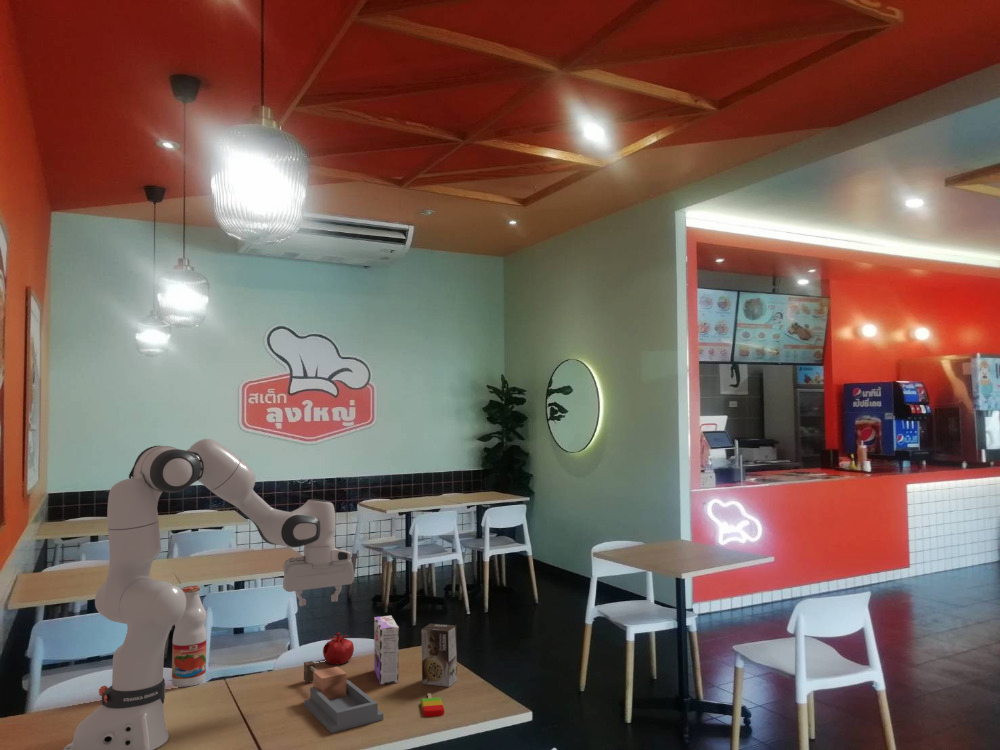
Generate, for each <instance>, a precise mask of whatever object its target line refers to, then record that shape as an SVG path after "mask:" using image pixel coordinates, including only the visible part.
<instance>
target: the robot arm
mask: <svg viewBox="0 0 1000 750" xmlns="http://www.w3.org/2000/svg"><path fill="white" fill-rule="evenodd" d="M196 482H199V483H201V484H202V485H203V486H204V487H206V488H207V489H208V490H209V491H210V492H212V493H213V494H214V495H215V496H217V497H218V498H220V499H222V500H224V501H225V502H227V503H228V504H231V505H233V506H234V507H235V508H236V509H238V510H239V511H240V512H241V513H242V514H243V515H245V517H246V518H247V519H249V520H250V521H251V523H253V524H254V526H255V527H256V529H257V531H258V534H259V536H260V537H261V539H262V540H263V541H264V542H265V543H267V544H269V545H273V546H274V545H276V546H283V547H287V548H299V547H302V546H303V556H297V557H289V558H288V559H286V560H285V561H284V563H283V565H282V566H283V567H282V568H283V569H282V571H283V574H284V575H283V581H282V588H283V589H284V591H286V592H288V593H290V592H291V593H292V592H294V593H295V595H296V597H297V599H298V600H299V601H298V606H299V607H306V606H307V599H305V598H303V597H302V595H303V591H308V590H315V589H316V590H317V589H322V588H323V589H324V588H331V587H334V589H335V591H334V593H333V594H331V595H330V598H331V599H330V600H331V602H332V603H334V602H338V601H339V595H340V594H341V592H342V589H343V586H345V585H346V586H347V585H352V583H354V581H355V573H354V572H355V571H354V564H353V562H352V560H351V559H352V553H351V552H350V551H347V550H344V549H341V548H339V547H336V541H335V532H336V511H335V510H336V509H335V505H334V503H332V502H331V501H330V500H325V499H317V498H310V499H308V500H307V501H306V502H305V503H304V504H303V505H301V506H300V507H298V508H296V509H294V510H291V511H287V510H283V509H280V508H279V509H278V508H274V507H272V506H271V505H269V504H268V503H267V502H266V501H265V500H264V499H263V498H262V497H261V496H259V495H258V493H256V491H255V490H254V487H255V485H256V474H255V472H254V471H253V470H252V468H251V467H250V466H249V464H247V463H246V462H245V461H244V460H243V459H242V458H241V457H239V456H238V455H237V454H236V453H234V451H232V450H230V449H229V448H227V447H226V446H225V445H222V444H221V443H219V442H218V441H216V440H213V439H211V438H204V439H201V440H198V441H196V442H194V443H193V444H192V445H191V446H190V447H189V448H188V449H186V450H184V449H179V448H176V447H174V446H168V445H153V446H150V447H147V448H146V449H144V450H142V451H141V453H139V455H138V456H137V457H136V459H135V462H134V464H133V466H132V468H131V470H130V472H129V474H128V478H126V479H122V480H120V481H118V482H117V483H115V484H114V485H113V486H111V488H110V490H109V492H108V497H107V498H108V499H107V508H106V509H107V510H106V511H107V512H106V513H107V515H106V516H107V518H106V520H107V521H106V522H107V534H108V536H107V537H108V545H109V547H108V548H109V549H108V550H109V563H108V564H109V565H108V570H107V574H106V578H105V581H104V583H103V584H102V585H101V586H100V587H99V588H98V590H97V591H96V594H95V597H94V598H95V599H94V605H95V609H96V611H97V613H99V614H100V615H101V616H103V617H104V618H106V619H108V621H109V620H110V621H111V622H114V623H118V624H119V623H121V624H125V625H127V630H126V633H125V634H126V635H125V637H124V640H123V642H122V644H121V645H120V646H119V647H117V649H116V650H115V651H114V653H113V655H112V656H113V657H112V673H111V674H112V676H111V677H112V678H111V680H112V681H111V686H107V685H102V686H100V688H99V689H98V694H99V696H100V697H101V705H99V706H98V707H97V708H96V709H95V710H93V711H92V712H91V713H90V714H88V716H86V717H85V718H83V719H82V720H81V721H80V722H79V724H78V725H77V727H76V729H75V732H74V734H73V739H72V742H70V743H69V744H67V745H66V746H65V747H64V748H63V749H62V750H156V749H157V748H160V747H161V746H163V745H164V744H166V742H167V741H169V738H170V737H169V731H168V729H167V725H166V718H165V710H164V703H165V699H166V680H165V678H164V665H165V664H164V663H165V662H164V661H165V650H166V649H165V648H166V644H167V641H168V640H167V639H168V637H169V634H170V632H171V630H172V629H173V627H174V626H175V623H176V622H178V621H179V619H180V618H181V617H182V615H183V613H184V611H185V608H186V596H185V594H184V592H183V591H182V588H180V587H178V586H177V585H174V583H170V582H169V581H166V580H165V581H164V580H159V579H158V580H157V579H152V578H151V568H152V564H153V561H154V560H155V559H156V558H158V556H159V555H160V553H161V550H162V547H161V545H162V543H161V534H160V522H159V512H158V505H159V504H158V503H159V499H160V498H161V495H162V493H169V494H171V493H173V494H174V493H178V492H181V491H184V490H186V489H187V488H189V487H190V486H192V485H193V484H194V483H196Z"/></svg>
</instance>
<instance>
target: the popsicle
mask: <svg viewBox="0 0 1000 750" xmlns="http://www.w3.org/2000/svg"><path fill="white" fill-rule="evenodd" d="M426 695H427V698H421V699H420V705H421V710H422V715H423V717H426V718H429V717H430V718H431V717H441V716H444V715H445V708H444V704H443V701H442V698H441V697H432V693H431V692H428V693H427V694H426Z"/></svg>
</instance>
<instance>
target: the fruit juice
mask: <svg viewBox="0 0 1000 750" xmlns="http://www.w3.org/2000/svg"><path fill="white" fill-rule="evenodd" d="M200 589H201V587H200V585H188V586H184V587H182V588H181V590H182V591H183V592H184V594H185V596H186V608H185V611H184V613H183V615H182V617H181V618H180V619H179V621H178V622H176V623H175V624H174V628H175V629H174V631H173V635H172V654H171V656H172V657H171V659H172V661H171V684H172V685H173V687H179V688H183V687H184V688H188V687H192V686H196V685H199V684H201V683H203V682H204V681H205V680H206V676H207V674H206V673H207V640H208V639H207V636H208V635H207V628H206V621H207V616H208V615H207V611H206V609H205V607H204V605H203V603H202V600H201V596H200V594H199V593H200V591H201V590H200Z"/></svg>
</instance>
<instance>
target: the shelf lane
mask: <svg viewBox="0 0 1000 750" xmlns="http://www.w3.org/2000/svg"><path fill="white" fill-rule="evenodd" d="M309 689H310V690H309V691H310V696H309V698H308V699H307V698H306V699H304V704H303V706H304V708H306V709H307V710H308V711H309V712H310V713H311V714H312V715H313V716H314V718H315V719H317V720H318V721H319V723H321V724H322V726H324V728H325V729H326V730H327V731H328V732H330V734H333V733H337V732H342V731H346V730H349V729H352V728H358V727H360V726H364V725H368V724H371V723H376V722H380V721H383V720H384V713H383V712H382V711H381V710H380V709H378V708H379V707H378V706H379V705H378V702H377V701H375V700H374V699H373V698H372V697H370V696H369V695H368V694H367V693H365V692H364V691H363V690H361V688H359V687H358V686H357V685H355V684H354V683H353V682H352V681H351V680H349V679H346V696H343V697H339V698H334V699H330V700H329V699H328V698H326V697H325V696H324V695H323V694H322V693H321V692H320V691H319V690H318V689H317V688H316V687H310V688H309Z"/></svg>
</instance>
